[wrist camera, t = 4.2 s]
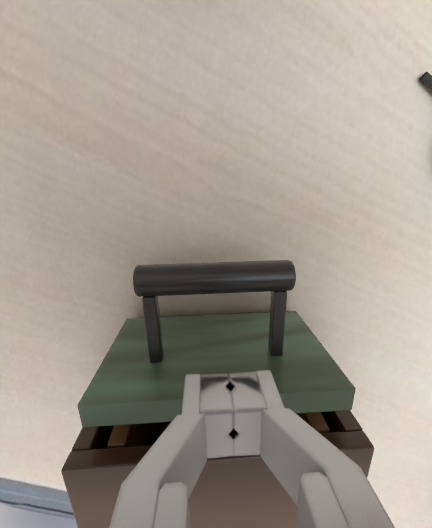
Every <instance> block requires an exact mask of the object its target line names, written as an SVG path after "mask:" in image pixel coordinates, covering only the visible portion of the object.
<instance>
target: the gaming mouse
mask: <svg viewBox="0 0 432 528" xmlns="http://www.w3.org/2000/svg"><path fill="white" fill-rule="evenodd" d="M420 80H421V81H422V82H423V83H424V84H425V85H426V86H428V87H429V88H430V89H431V90H432V76H431V75H430V74H429V73H428V72H426V73H424V74H423V75H422V76H421V77H420Z"/></svg>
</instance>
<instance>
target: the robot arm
mask: <svg viewBox="0 0 432 528" xmlns="http://www.w3.org/2000/svg"><path fill="white" fill-rule="evenodd" d="M233 455H234V456H245V455H260V457H261V458H262V459H263V461H264V462H265V463H266V465H267V466H268V467H269V469H270V470H271V472H272V473H273V474H274V476H275V477H276V478H277V480H278V481H279V482H280V484H281V485H282V486H283V488H284V489H285V490H286V492H287V493H288V495H289V496H290V497H291V499H292V500H293V501H294V503H295V504H296V505H297V512H296V520H295V528H395V527H394V525H393V523H392V522H391V520H390V518H389V516H388V515H387V513H386V511H385V509H384V508H383V506H382V504H381V502H380V501H379V499H378V497H377V495H376V493H375V492H374V490H373V488H372V486H371V485H370V483H369V481H368V479H367V478H366V476H365V474H364V472H363V471H362V469H361V467H359V466H358V465H357V464H356V463H355V462H353V461H352V460H351V459H350V458H349V457H347V456H346V455H345V454H344V453H343V452H341V451H340V450H339V449H338V448H337V447H335V446H334V445H333V444H332V443H331V442H329V441H328V440H327V439H326V438H325V437H323V436H322V435H321V434H320V433H319V432H317V431H316V430H315V429H314V428H313V427H311V426H310V425H309V424H308V423H307V422H305V421H304V420H303V419H302V418H301V417H299V416H298V415H297V414H296V413H295V412H293V411H292V410H291V409H290V408H284V405H283V402H282V400H281V397H280V394H279V392H278V389H277V386H276V384H275V381H274V378H273V376H272V373H271V371H270V370H260V371H249V372H233V373H205V374H201V375H200V374H186V377H185V384H184V395H183V405H182V415H177V416H176V417H175V418H174V419H173V421H172V422H171V423H170V424H169V426H168V427H167V428H166V429H165V431H164V432H163V433H162V434H161V436H160V437H159V438H158V439H157V441H156V442H155V443H154V444H153V445H152V447H151V448H150V449H149V450H148V452H147V453H146V454H145V455H144V457H143V458H142V459H141V460H140V462H139V463H138V464H137V465H136V467H135V468H134V469H133V470H132V472H131V473H130V474H129V475H128V477H127V478H126V479H125V480H124V482H123V483H122V484H121V487H120V491H119V494H118V498H117V501H116V505H115V508H114V512H113V515H112V519H111V522H110V526H109V528H191V526H190V513H189V500H188V499H189V497H190V495H191V493H192V491H193V489H194V486H195V484H196V482H197V480H198V478H199V476H200V474H201V472H202V470H203V468H204V466H205V464H206V461H207V459H208V458H218V457H228V456H233Z"/></svg>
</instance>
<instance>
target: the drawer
mask: <svg viewBox="0 0 432 528" xmlns="http://www.w3.org/2000/svg"><path fill="white" fill-rule="evenodd" d="M295 280H296V274H295V268H294V265H293V263H292V262H291V261H289V260H278V261H249V262H219V263H190V264H160V265H138V266H136V267H135V270H134V275H133V286H134V291H135V294H136V295H137V296H139V297H141V296H143V298H142V300H143V309H144V317H145V318H129V319H127V320H126V322H125V323H124V325H123V327H122V329H121V330H120V332H119V334H118V336H117V337H116V339H115V341H114V343H113V344H112V346H111V348H110V350H109V351H108V353H107V355H106V357H105V358H104V360H103V362H102V364H101V365H100V367H99V369H98V371H97V372H96V374H95V376H94V378H93V379H92V381H91V383H90V384H89V386H88V388H87V390H86V391H85V393H84V395H83V397H82V398H81V400H80V402H79V404H78V410H79V414H80V418H81V422H82V427H99V426H114V428H113V431H112V433H111V436H110V439H109V441H108V444H107V448H120V447H135V446H149V445H153V444H154V443H155V442H156V441H157V439H158V438H159V437H160V436H161V434H162V433H163V432H164V431H165V429H166V428H167V427H168V426H169V424H170V423H171V422H172V421H173V419H174V418H175V417H176V416H177V415H182V405H183V395H184V384H185V377H186V374H200V375H201V374H205V373H233V372H249V371H260V370H270V371H271V373H272V376H273V378H274V381H275V384H276V386H277V389H278V392H279V394H280V397H281V400H282V402H283V405H284V408H290V409H291V410H292V411H293V412H295V413H296V414H297V415H298V416H299V417H301V418H302V419H303V420H304V421H305V422H307V423H308V424H309V425H310V426H311V427H313V428H314V429H315V430H316V431H317V432H319V433H329V432H330V429H329V427H328V426H327V424H326V422H325V420H324V418H323V416H322V414H321V412H327V411H342V410H351V409H352V404H353V399H354V394H355V387H354V386H353V385H352V383H351V382H350V381H349V379H348V378H347V377H346V376H345V374H344V373H343V372H342V370H341V369H340V368H339V366H338V365H337V364H336V363H335V361H334V360H333V359H332V357H331V356H330V355H329V354H328V352H327V351H326V350H325V348H324V347H323V346H322V344H321V343H320V342H319V341H318V339H317V338H316V337H315V335H314V334H313V333H312V331H311V330H310V329H309V328H308V326H307V325H306V324H305V322H304V321H303V320H302V319H301V317H300V316H299V315H298V313H297V312H296V311H286V300H287V291H290V290H292V289H293V288H294V286H295ZM265 291H271V305H270V312H264V313H241V314H219V315H196V316H174V317H160V314H159V304H158V296H166V295H191V294H216V293H240V292H265Z"/></svg>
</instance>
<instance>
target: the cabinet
mask: <svg viewBox="0 0 432 528" xmlns="http://www.w3.org/2000/svg"><path fill="white" fill-rule="evenodd" d="M321 414H322V416H323V418H324V420H325V422H326V424H327V426H328V427H329V429H330V432H329V433H320V434H321V435H322V436H323V437H325V438H326V439H327V440H328V441H329V442H331V443H332V444H333V445H334V446H335V447H337V448H338V449H339V450H340V451H341V452H343V453H344V454H345V455H346V456H347V457H349V458H350V459H351V460H352V461H353V462H355V463H356V464H357V465H358V466H359V467H361V469H362V471H363V472H364V474H365V476H366V478H367V476H368V472H369V468H370V464H371V460H372V456H373V451H374V446H373V445H372V443H371V442H370V440H369V439H368V437H367V436H366V434H365V433H364V432H363V431H362V428H361V426H360V425H359V423H358V422H357V420H356V419H355V417H354V416H353V414H352V413H351V411H350V410H342V411H327V412H321ZM113 428H114V426H99V427H83V428H82V430H81V432H80V434H79V436H78V438H77V440H76V442H75V444H74V446H73V448H72V451H71V452H70V454H69V456H68V458H67V460H66V462H65V464H64V466H63V468H62V475H63V479H64V482H65V486H66V489H67V492H68V496H69V499H70V502H71V506H72V509H73V513H74V516H75V519H76V522H77V526H78V528H109V526H110V522H111V519H112V515H113V512H114V508H115V505H116V501H117V498H118V494H119V491H120V487H121V484H122V483H123V482H124V480H125V479H126V478H127V477H128V475H129V474H130V473H131V472H132V470H133V469H134V468H135V467H136V465H137V464H138V463H139V462H140V460H141V459H142V458H143V457H144V455H145V454H146V453H147V452H148V450H149V449H150V448H151V447H152V445H149V446H135V447H120V448H107V444H108V441H109V439H110V436H111V433H112V431H113ZM188 500H189V513H190V526H191V528H295V520H296V512H297V505H296V504H295V503H294V501H293V500H292V499H291V497H290V496H289V495H288V493H287V492H286V490H285V489H284V488H283V486H282V485H281V484H280V482H279V481H278V480H277V478H276V477H275V476H274V474H273V473H272V472H271V470H270V469H269V467H268V466H267V465H266V463H265V462H264V461H263V459H262V458H261V457H260V455H245V456H234V455H233V456H228V457H218V458H208V459H207V461H206V464H205V466H204V468H203V470H202V472H201V474H200V476H199V478H198V480H197V482H196V484H195V486H194V489H193V491H192V493H191V495H190V497H189V499H188Z"/></svg>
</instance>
